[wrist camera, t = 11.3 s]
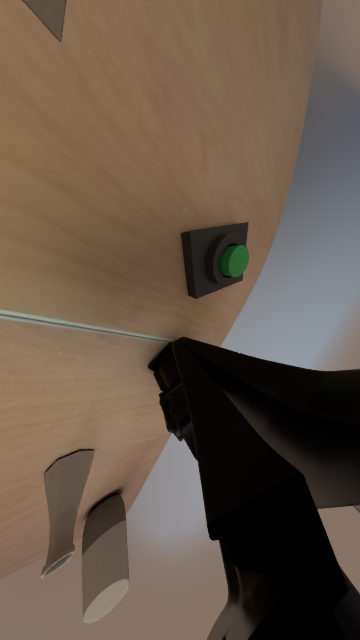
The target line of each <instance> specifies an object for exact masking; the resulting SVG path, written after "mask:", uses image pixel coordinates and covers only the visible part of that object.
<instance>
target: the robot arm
mask: <svg viewBox="0 0 360 640" xmlns="http://www.w3.org/2000/svg"><path fill="white" fill-rule="evenodd" d="M148 368H149V369H150V370H152V371H154V377H155V379H156V381H157V383H158V385H159V387H160V390H161V391H163V392H161V393H160V394H159V397H160V402H159V403H160V405H161V408H162V410H163V413H164V418H165V423H166V428H167V430H168V432H171V433H173V434H174V435H175V436H176V437H177V438H178V440H179V441H182V440H183V439H184V440H185V441H186V443H187V445H188V447H189V449H190V450H191V452H192V454H193V456H194V457H195V459H196V460H197V461H198V466H199V472H200V479H201V485H202V492H203V500H204V506H205V513H206V521H207V528H208V532H209V537H210V539H211V540H213V541H214V540H219V543H220V548H221V553H222V558H223V563H224V568H225V574H226V578H227V584H228V599H227V603H226V605H225V607H224V609H223V611H222V612H221V614H220V616H219V617H218V619H217V621H216V622H215V624H214V626H213V628H212V630H211V632H210V634H209V636H208V638H207V640H360V594H359V592H358V591H357V590H356V588H355V587H354V585H353V584H352V583H351V582H350V580H349V579H348V577H347V576H346V574H345V573H344V572H343V570H342V569H341V567H340V566H339V564H338V562H337V559H336V557H335V554H334V551H333V549H332V547H331V544H330V541H329V539H328V536H327V533H326V531H325V528H324V526H323V523H322V521H321V518H320V515H319V513H318V511H317V509H321V508H333V507H345V506H353V507H354V508H355V509H356V510H358V511H359V512H360V369H354V370H341V371H318V370H311V369H305V368H301V367H296V366H291V365H286V364H282V363H277V362H272V361H267V360H264V359H259V358H256V357H252V356H248V355H245V354H241V353H240V354H239V353H237V352H234V351H231V350H227V349H224V348H221V347H217V346H214V345H210V344H207V343H203V342H200V341H197V340H193V339H190V338H186V337H181V338H179V339H177V340H175V341H173V342H170V343H169V344H168V345H167V346H166V347H165V348H164V349H163V350H162V351H161V352H160V353H159V354H158V356H157V357H156V358H155V359H154V360H153V361H152V362H151V363H150V364H149V365H148Z"/></svg>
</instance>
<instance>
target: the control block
mask: <svg viewBox="0 0 360 640" xmlns="http://www.w3.org/2000/svg"><path fill="white" fill-rule="evenodd" d="M247 231H248V222H246V223H239V224H233V225H226V226H220V227H214V228H207V229H201V230H194V231H189V232H185V233H181V237H182V246H183V254H184V262H185V270H186V278H187V286H188V294H189V296H191V297H193V298H196V299H197V298H199V297H202V296H204V295H207V294H209V293H212V292H214V291H217V290H219V289H222V288H224V287H227V286H229V285H232V284H235V283H237V282H240V281H242V279H243V273H242V274H241V275H240V276H238V277H231V276H225V275H223V274H222V273H221V271H220V258H221V255H222V253H223V251H224V250H225V249H226V248H227V247H229V246H237V245H243V246H245V247H246V240H247ZM246 248H247V247H246Z"/></svg>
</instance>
